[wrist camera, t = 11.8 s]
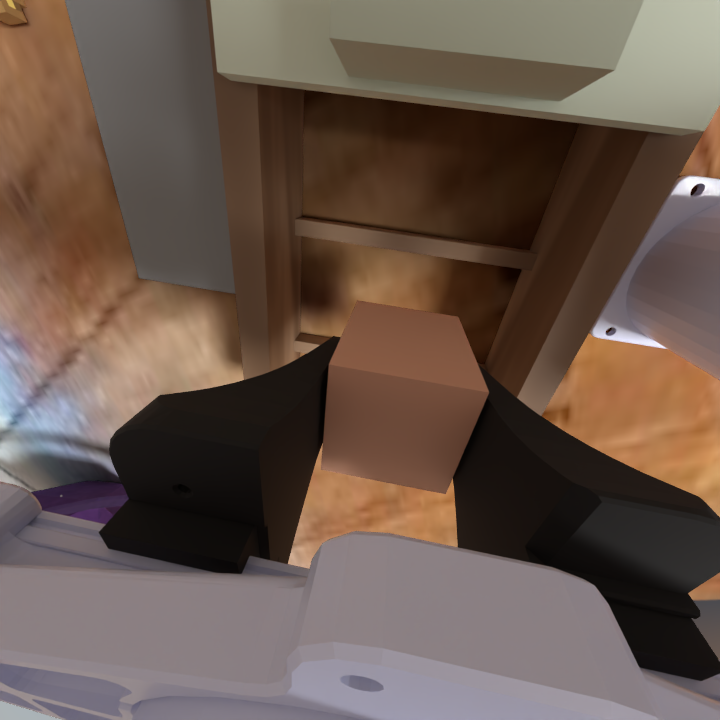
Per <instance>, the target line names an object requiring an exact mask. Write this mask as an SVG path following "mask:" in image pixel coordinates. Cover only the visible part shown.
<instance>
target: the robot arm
mask: <svg viewBox="0 0 720 720" xmlns="http://www.w3.org/2000/svg"><path fill="white" fill-rule="evenodd" d="M695 185H697V187H698V188H697V191H696V192H695V193H694V194H693V195H691V194H690V192H691V189H692V188H693V187H694V186H695ZM611 327H612V330H611V331H610V332H608V333H606V330H607V329H609V328H611ZM589 333H590V334H591V335H592V336H594V337H596V338H602V339H608V340H614V341H620V342H627V343H633V344H639V345H645V346H652V347H658V348H664V349H669V350H670V351H672V352H674V353H675V354H677V355H679V356H680V357H682V358H684V359H685V360H687V361H689V362H690V363H692V364H694V365H695V366H697V367H699V368H700V369H702V370H703V371H705V372H707V373H708V374H710V375H712V376H713V377H715V378H717V379H718V380H720V179H715V178H708V177H700V176H682V177H679V178H677V180H676V181H675V183H674V185H673V187H672V188H671V190H670V192H669V194H668V195H667V197H666V199H665V201H664V202H663V204H662V206H661V208H660V209H659V211H658V213H657V215H656V216H655V218H654V220H653V221H652V223H651V225H650V227H649V228H648V230H647V232H646V234H645V235H644V237H643V239H642V241H641V242H640V244H639V246H638V248H637V249H636V251H635V253H634V255H633V256H632V258H631V260H630V262H629V263H628V265H627V267H626V269H625V270H624V272H623V274H622V276H621V277H620V279H619V281H618V283H617V284H616V286H615V288H614V290H613V291H612V293H611V295H610V297H609V298H608V300H607V302H606V304H605V305H604V307H603V309H602V311H601V312H600V314H599V316H598V318H597V319H596V321H595V323H594V325H593V326H592V328H591V330H590V332H589ZM340 338H341V337H335V336H333V337H332V338H330V339H329V340H327V341H326V342H324V343H323V344H321V345H320V346H318V347H317V348H315V349H313V350H312V351H310V352H309V353H307V354H305V355H303V356H302V357H300V358H298V359H296V360H294V361H292V362H290V363H289V364H286V365H284V366H282V367H280V368H278V369H275V370H273V371H270V372H268V373H265V374H262V375H259V376H256V377H252V378H249V379H246V380H243V381H240V382H236V383H232V384H227V385H223V386H218V387H213V388H208V389H203V390H196V391H189V392H182V393H174V394H166V395H160V396H158V397H157V398H156V399H154V400H153V401H152V402H151V403H150V404H148V405H147V406H146V407H145V408H144V409H142V410H141V411H140V412H139V413H138V414H136V415H135V416H134V417H133V418H132V419H130V420H129V421H128V422H127V423H126V424H124V425H123V426H122V427H121V428H120V429H118V430H117V431H116V432H115V434H114V435H113V437H112V438H111V439H110V448H109V451H110V456H111V459H112V463H113V465H114V468H115V470H116V472H117V474H118V476H119V478H120V481H121V483H122V485H123V487H124V489H125V491H126V494H127V496H128V498H129V499H128V500H127V501H126V502H125V503H124V505H123V506H122V507H121V508H120V509H119V510H118V511H117V512H116V513H115V515H114V516H113V517H112V518H111V519H110V520H109V521H108V522H107V523H106V524H102V523H97V522H93V521H88V520H83V519H79V518H74V517H70V516H65V515H61V514H56V513H51V512H47V511H42V507H41V505H40V503H39V501H38V500H37V498H36V497H35V496H34V495H33V494H32V493H31V492H29V491H28V490H26V489H24V488H23V487H20V486H17V485H13V484H9V483H4V482H0V701H3V702H7V703H9V704H13V705H16V706H19V707H23V708H26V709H29V710H33V711H36V712H39V713H43V714H46V715H49V716H52V717H55V718H59V719H62V720H720V659H719V658H717V656H716V655H715V653H714V652H713V651H712V649H711V647H710V646H709V645H708V643H707V641H706V640H705V638H704V637H703V635H702V634H701V633H700V631H699V629H698V628H697V627H696V625H695V623H694V622H693V620H692V619H691V618H694V619H697V618H698V617H700V610H699V609H698V607H697V606H696V605H695V603H694V602H693V600H692V599H691V597H690V596H689V594H688V593H689V592H690V591H692V590H693V589H695V588H696V587H698V586H699V585H701V584H703V583H704V582H706V581H707V580H709V579H710V578H712V577H713V576H715V575H716V574H718V573H719V572H720V517H719V516H718V515H717V514H716V513H715V512H714V511H713V510H712V509H711V508H710V507H709V506H708V505H707V504H706V503H705V502H704V501H703V500H702V499H701V498H700V497H698V496H696V495H693V494H691V493H689V492H686V491H684V490H682V489H679V488H677V487H675V486H672V485H670V484H668V483H665V482H663V481H661V480H658V479H656V478H654V477H651V476H649V475H647V474H644V473H642V472H640V471H638V470H636V469H634V468H632V467H630V466H628V465H626V464H624V463H621V462H619V461H617V460H615V459H613V458H611V457H609V456H607V455H605V454H604V453H602V452H600V451H598V450H596V449H594V448H592V447H590V446H589V445H587V444H585V443H583V442H582V441H580V440H578V439H576V438H575V437H573V436H571V435H569V434H568V433H566V432H565V431H563V430H561V429H560V428H558V427H557V426H555V425H554V424H552V423H551V422H549V421H548V420H546V419H545V418H543V417H542V416H540V415H539V414H537V413H536V412H535V411H533V410H532V409H531V408H529V407H528V406H527V405H525V404H524V403H523V402H522V401H520V400H519V399H518V398H516V397H515V396H514V395H513V394H512V393H510V392H509V391H508V390H507V389H506V388H505V387H503V386H502V385H501V384H500V383H499V382H498V381H497V380H496V379H494V378H493V377H492V376H491V375H490V374H489V373H488V372H487V371H486V370H484V369H483V368H482V367H481V366H480V365H479V364H478V366H479V369H480V371H481V374H482V376H483V379H484V381H485V383H486V386H487V388H488V391H489V394H488V396H487V399H486V401H485V403H484V406H483V408H482V410H481V413H480V415H479V417H478V420H477V422H476V424H475V427H474V429H473V431H472V434H471V436H470V438H469V441H468V443H467V445H466V448H465V450H464V452H463V455H462V457H461V459H460V462H459V464H458V466H457V469H456V471H455V473H454V476H453V483H454V493H455V506H456V521H457V539H458V547H453V546H448V545H443V544H439V543H434V542H429V541H424V540H419V539H415V538H410V537H405V536H400V535H395V534H390V533H379V532H361V531H354V532H350V533H347V534H344V535H341V536H338V537H335V538H332V539H329V540H327V541H325V542H324V543H322V545H321V546H320V548H319V549H318V551H317V552H316V554H315V555H314V557H313V558H312V561H311V565H310V569H308V568H303V567H298V566H294V565H289V564H288V560H289V556H290V553H291V549H292V545H293V541H294V537H295V534H296V530H297V526H298V523H299V519H300V515H301V512H302V508H303V505H304V501H305V497H306V494H307V490H308V487H309V483H310V480H311V476H312V473H313V470H314V466H315V463H316V460H317V457H318V454H319V451H320V448H321V446H322V443H323V436H324V423H325V409H326V396H327V383H328V370H329V363H330V361H331V359H332V356H333V354H334V352H335V350H336V347H337V345H338V343H339V341H340Z"/></svg>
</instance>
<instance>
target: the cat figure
mask: <svg viewBox="0 0 720 720" xmlns="http://www.w3.org/2000/svg"><path fill="white" fill-rule="evenodd" d="M22 8H26V5H25V3H24V0H0V21H2V22H4V23H6V24H9V25H13V24H20V23H27V21H26V18H25V16H24V14H23V12H22Z"/></svg>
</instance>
